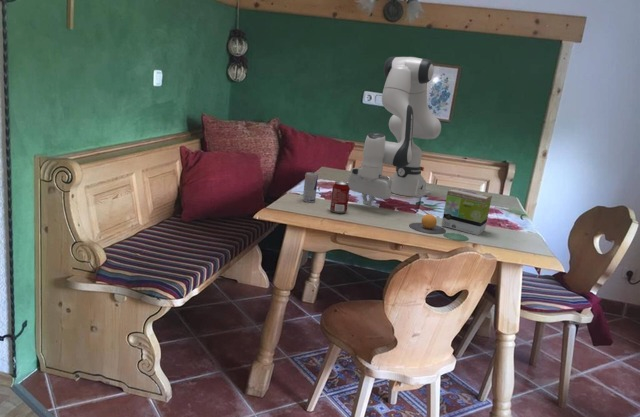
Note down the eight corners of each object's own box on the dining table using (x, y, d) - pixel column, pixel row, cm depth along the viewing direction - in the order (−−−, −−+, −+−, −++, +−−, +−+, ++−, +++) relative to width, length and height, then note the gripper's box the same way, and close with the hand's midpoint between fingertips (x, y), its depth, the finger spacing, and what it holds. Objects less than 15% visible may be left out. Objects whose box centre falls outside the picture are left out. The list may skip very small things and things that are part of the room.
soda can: (345, 215, 206) (348, 185, 203) (328, 212, 207) (331, 183, 204) (347, 211, 212) (351, 182, 209) (331, 208, 213) (334, 180, 210)
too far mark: (450, 231, 198) (450, 231, 198) (472, 238, 192) (472, 237, 192) (439, 235, 191) (439, 235, 191) (461, 242, 186) (461, 241, 186)
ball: (432, 231, 201) (423, 221, 203) (441, 221, 198) (432, 210, 200) (425, 232, 196) (416, 222, 199) (435, 222, 194) (425, 211, 196)
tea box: (440, 226, 204) (446, 190, 201) (448, 222, 213) (454, 187, 209) (478, 236, 197) (485, 198, 193) (485, 231, 205) (492, 194, 202)
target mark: (421, 221, 209) (421, 220, 209) (452, 230, 200) (452, 230, 200) (402, 226, 198) (402, 225, 198) (434, 236, 190) (434, 235, 190)
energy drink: (316, 201, 224) (319, 173, 221) (312, 203, 219) (315, 175, 216) (305, 198, 226) (308, 171, 223) (300, 201, 221) (303, 173, 218)
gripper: (396, 177, 211) (391, 210, 214) (356, 167, 224) (352, 198, 227) (387, 178, 206) (383, 211, 210) (347, 168, 219) (343, 200, 222)
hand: (367, 205), depth 218 cm, fingers closed
